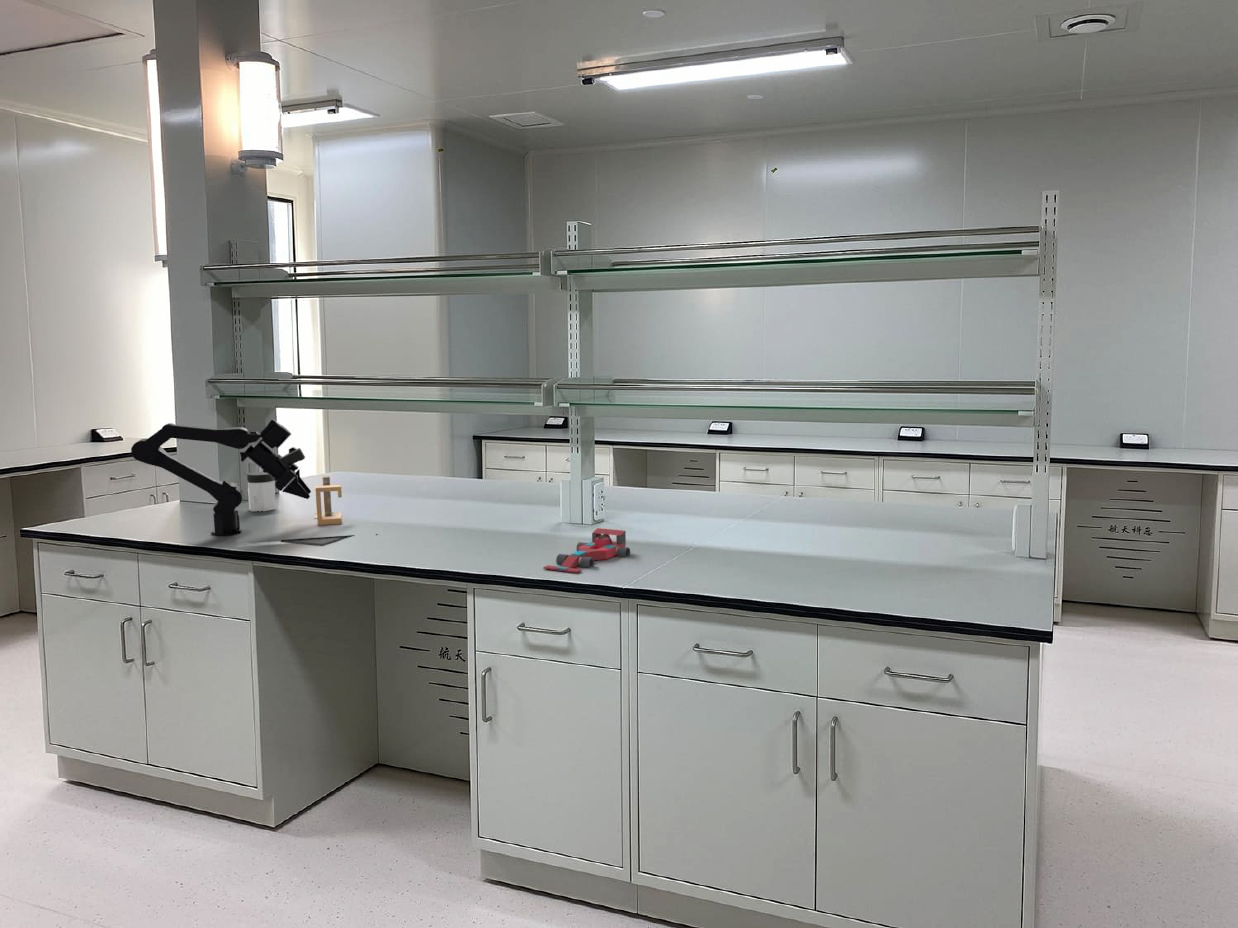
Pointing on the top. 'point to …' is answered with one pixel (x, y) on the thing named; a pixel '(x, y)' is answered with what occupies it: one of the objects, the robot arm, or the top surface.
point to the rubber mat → (316, 540)
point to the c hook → (318, 502)
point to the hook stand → (328, 501)
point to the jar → (261, 492)
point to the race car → (593, 551)
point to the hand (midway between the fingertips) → (309, 495)
